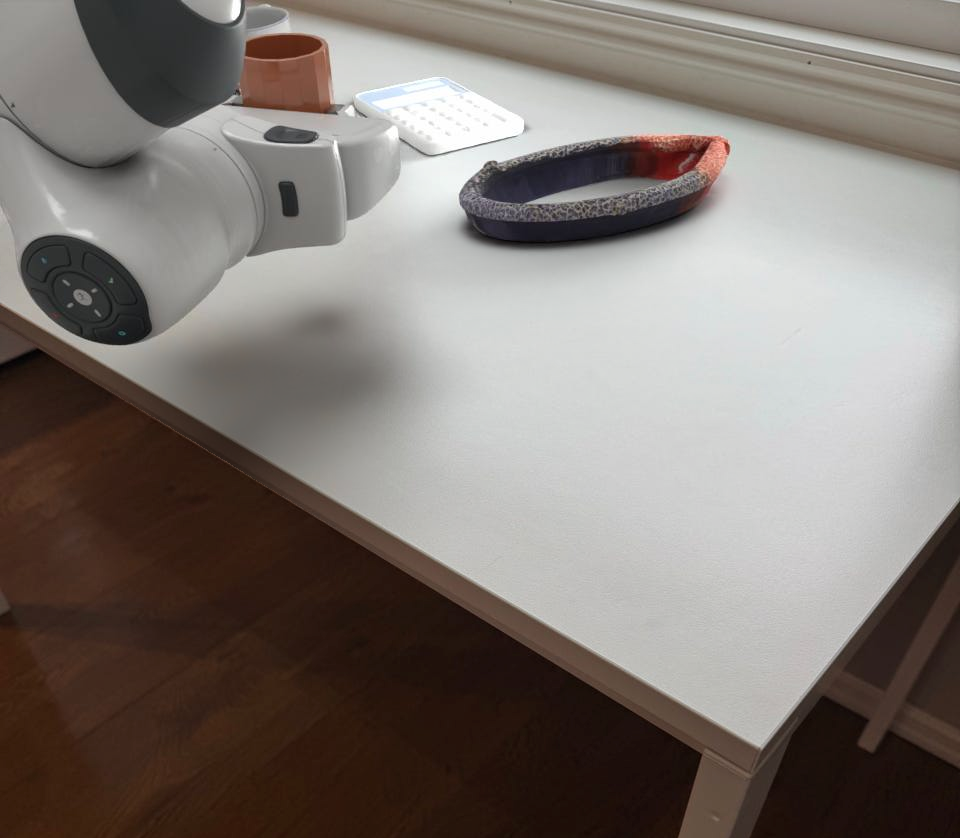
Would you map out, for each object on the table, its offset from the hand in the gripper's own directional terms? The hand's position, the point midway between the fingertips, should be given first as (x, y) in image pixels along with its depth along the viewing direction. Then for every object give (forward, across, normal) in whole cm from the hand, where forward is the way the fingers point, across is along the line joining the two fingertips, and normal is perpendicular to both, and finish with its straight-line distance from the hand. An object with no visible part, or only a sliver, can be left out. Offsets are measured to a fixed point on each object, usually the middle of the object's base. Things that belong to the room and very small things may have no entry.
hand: (295, 111), depth 72 cm
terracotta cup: (-1, 0, -6) cm, 6 cm away
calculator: (+49, -5, -17) cm, 52 cm away
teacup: (+58, -32, -17) cm, 68 cm away
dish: (+27, +19, -17) cm, 37 cm away
